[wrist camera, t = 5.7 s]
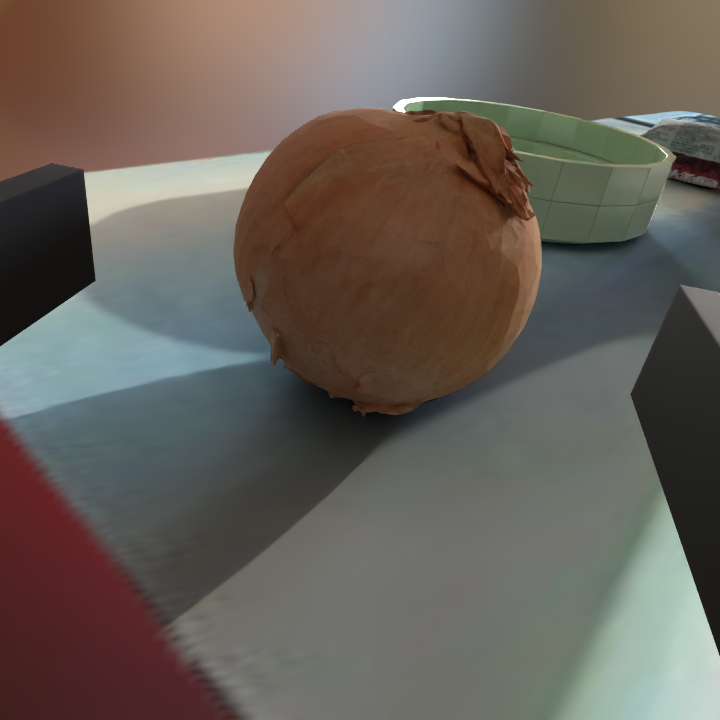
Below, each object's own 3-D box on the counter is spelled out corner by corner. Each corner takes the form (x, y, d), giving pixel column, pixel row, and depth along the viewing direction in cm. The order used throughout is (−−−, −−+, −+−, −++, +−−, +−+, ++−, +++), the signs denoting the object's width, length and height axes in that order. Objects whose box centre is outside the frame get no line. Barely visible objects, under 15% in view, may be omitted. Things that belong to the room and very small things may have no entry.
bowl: (407, 237, 34) (424, 145, 31) (369, 154, 49) (378, 87, 46) (701, 263, 37) (738, 181, 34) (578, 177, 52) (598, 115, 49)
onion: (454, 448, 23) (668, 256, 18) (261, 499, 16) (517, 209, 11) (335, 274, 27) (481, 75, 22) (138, 255, 20) (283, -45, 15)
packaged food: (641, 158, 63) (659, 107, 60) (766, 191, 57) (792, 136, 54) (612, 169, 57) (631, 113, 54) (748, 207, 51) (777, 147, 48)
